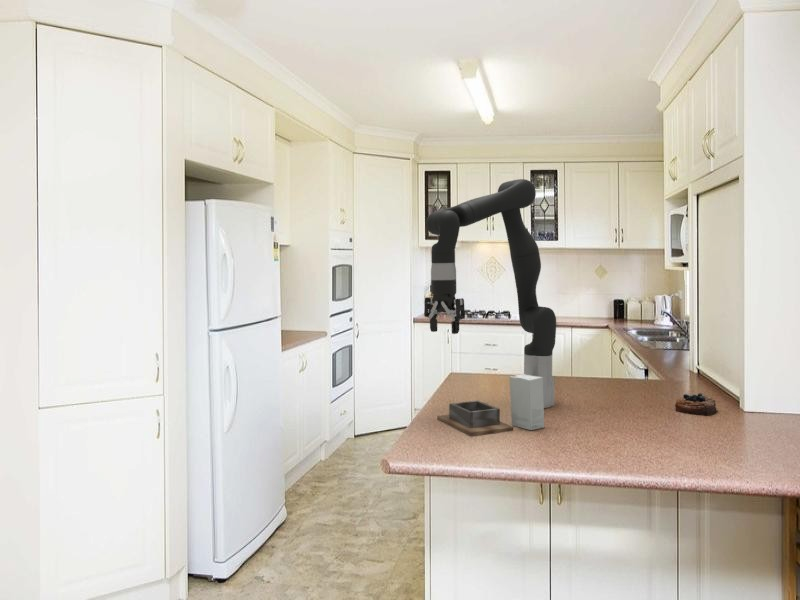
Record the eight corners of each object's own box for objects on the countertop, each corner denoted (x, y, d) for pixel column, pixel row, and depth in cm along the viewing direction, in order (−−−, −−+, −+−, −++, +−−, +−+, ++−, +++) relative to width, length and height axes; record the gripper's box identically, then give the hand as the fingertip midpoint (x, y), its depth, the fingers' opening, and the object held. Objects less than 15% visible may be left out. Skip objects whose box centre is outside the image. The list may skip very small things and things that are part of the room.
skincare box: (544, 428, 174) (545, 377, 173) (529, 431, 170) (530, 379, 170) (523, 421, 181) (524, 372, 180) (508, 424, 177) (509, 374, 177)
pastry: (719, 411, 195) (720, 393, 194) (708, 418, 186) (709, 399, 186) (684, 405, 202) (684, 388, 202) (671, 412, 194) (672, 394, 193)
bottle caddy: (476, 414, 190) (476, 397, 189) (513, 430, 171) (513, 411, 171) (437, 419, 184) (437, 401, 184) (471, 436, 166) (471, 416, 165)
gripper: (470, 278, 176) (470, 333, 177) (434, 277, 186) (435, 329, 188) (453, 279, 171) (453, 335, 172) (417, 278, 181) (418, 332, 182)
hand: (444, 332), depth 180 cm, fingers open, 8 cm apart
